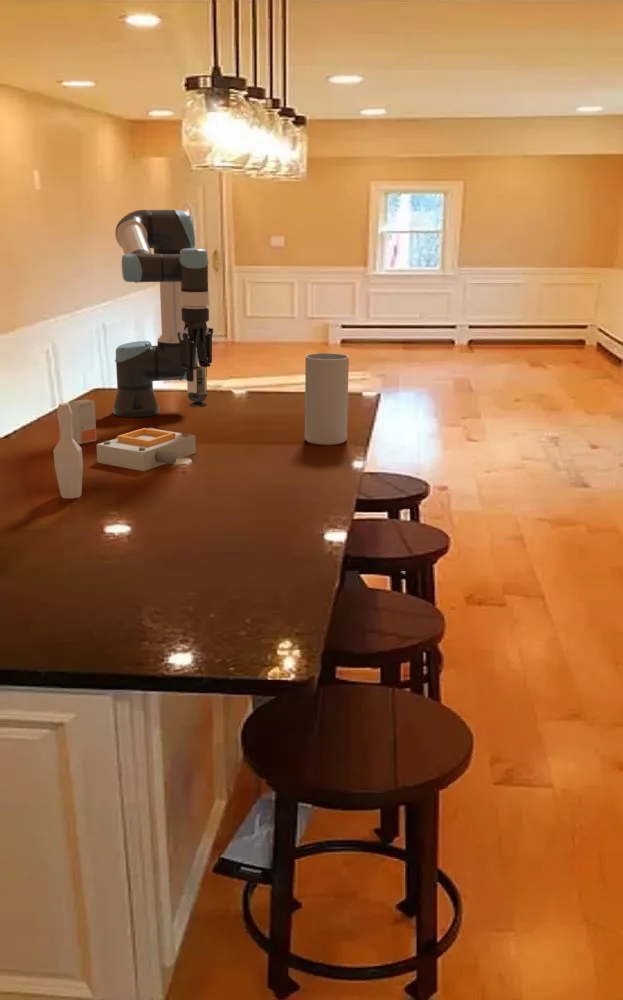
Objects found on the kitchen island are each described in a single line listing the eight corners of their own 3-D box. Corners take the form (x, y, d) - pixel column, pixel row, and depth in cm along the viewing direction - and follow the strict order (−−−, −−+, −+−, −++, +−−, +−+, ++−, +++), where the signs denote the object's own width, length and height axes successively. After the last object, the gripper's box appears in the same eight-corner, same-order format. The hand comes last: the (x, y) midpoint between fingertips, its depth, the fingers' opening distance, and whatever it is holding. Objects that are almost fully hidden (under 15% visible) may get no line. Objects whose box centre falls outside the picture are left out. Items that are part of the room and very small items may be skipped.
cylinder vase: (300, 444, 256) (300, 358, 248) (310, 434, 268) (311, 352, 260) (342, 447, 253) (344, 360, 245) (350, 437, 265) (352, 354, 257)
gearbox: (150, 445, 253) (149, 423, 251) (210, 455, 243) (209, 432, 241) (97, 462, 235) (96, 438, 233) (159, 474, 225) (158, 449, 223)
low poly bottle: (57, 500, 203) (49, 407, 196) (57, 492, 209) (49, 401, 202) (85, 498, 205) (78, 406, 198) (84, 490, 211) (78, 400, 204)
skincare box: (81, 444, 252) (78, 403, 249) (71, 442, 255) (68, 401, 251) (97, 440, 257) (95, 400, 253) (88, 438, 259) (85, 398, 256)
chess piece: (204, 408, 246) (203, 365, 242) (184, 406, 247) (183, 364, 243) (210, 403, 252) (209, 361, 248) (191, 402, 253) (189, 360, 249)
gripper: (202, 303, 250) (204, 384, 257) (164, 308, 235) (167, 394, 243) (224, 305, 246) (225, 387, 254) (186, 310, 232) (189, 397, 239)
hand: (197, 390), depth 248 cm, fingers closed on chess piece, 4 cm apart
